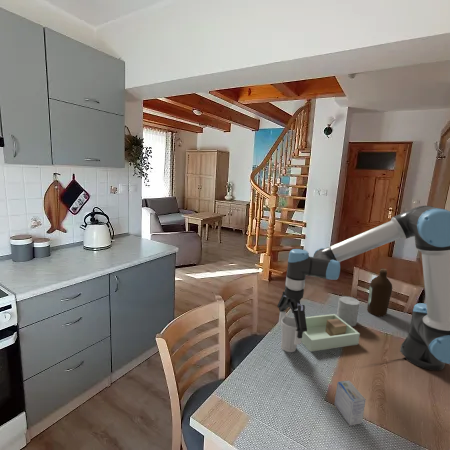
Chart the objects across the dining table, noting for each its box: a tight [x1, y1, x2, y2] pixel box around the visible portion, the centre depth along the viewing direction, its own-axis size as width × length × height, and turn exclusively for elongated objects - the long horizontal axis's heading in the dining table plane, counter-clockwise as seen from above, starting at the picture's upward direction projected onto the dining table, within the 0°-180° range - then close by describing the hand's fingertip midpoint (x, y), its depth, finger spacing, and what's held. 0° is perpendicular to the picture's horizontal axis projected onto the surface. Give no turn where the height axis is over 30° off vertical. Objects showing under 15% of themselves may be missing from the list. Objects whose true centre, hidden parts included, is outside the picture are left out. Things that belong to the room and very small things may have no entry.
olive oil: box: [366, 268, 393, 317], centre depth 149 cm, size 11×11×25 cm
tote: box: [301, 313, 361, 353], centre depth 125 cm, size 17×24×6 cm
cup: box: [280, 316, 297, 353], centre depth 116 cm, size 8×8×12 cm
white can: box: [336, 295, 361, 328], centre depth 138 cm, size 10×10×12 cm
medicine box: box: [333, 380, 367, 426], centre depth 85 cm, size 8×4×9 cm, turn 12°
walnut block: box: [325, 319, 347, 336], centre depth 126 cm, size 6×6×6 cm
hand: (288, 334), depth 116 cm, fingers open, 13 cm apart
